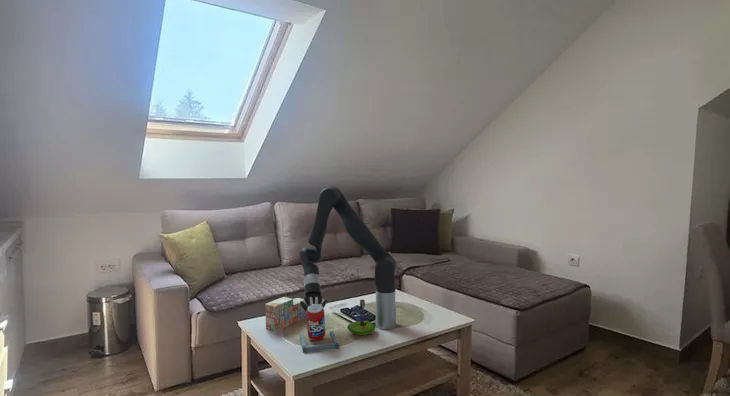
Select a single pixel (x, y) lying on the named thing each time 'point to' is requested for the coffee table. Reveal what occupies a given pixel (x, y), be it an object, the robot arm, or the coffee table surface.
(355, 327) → the pirate figurine
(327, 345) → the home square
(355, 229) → the robot arm
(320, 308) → the soda can
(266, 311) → the stack of blocks
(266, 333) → the coffee table surface
